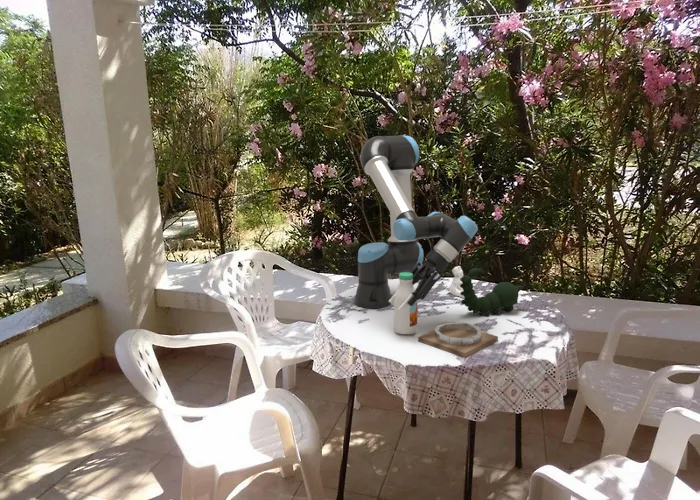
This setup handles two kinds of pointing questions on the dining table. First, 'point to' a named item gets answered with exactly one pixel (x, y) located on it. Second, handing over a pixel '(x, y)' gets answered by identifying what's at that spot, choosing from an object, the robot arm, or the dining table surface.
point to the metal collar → (458, 341)
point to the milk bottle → (409, 319)
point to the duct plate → (455, 349)
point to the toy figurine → (488, 295)
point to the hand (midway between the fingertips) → (396, 307)
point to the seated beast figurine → (456, 282)
